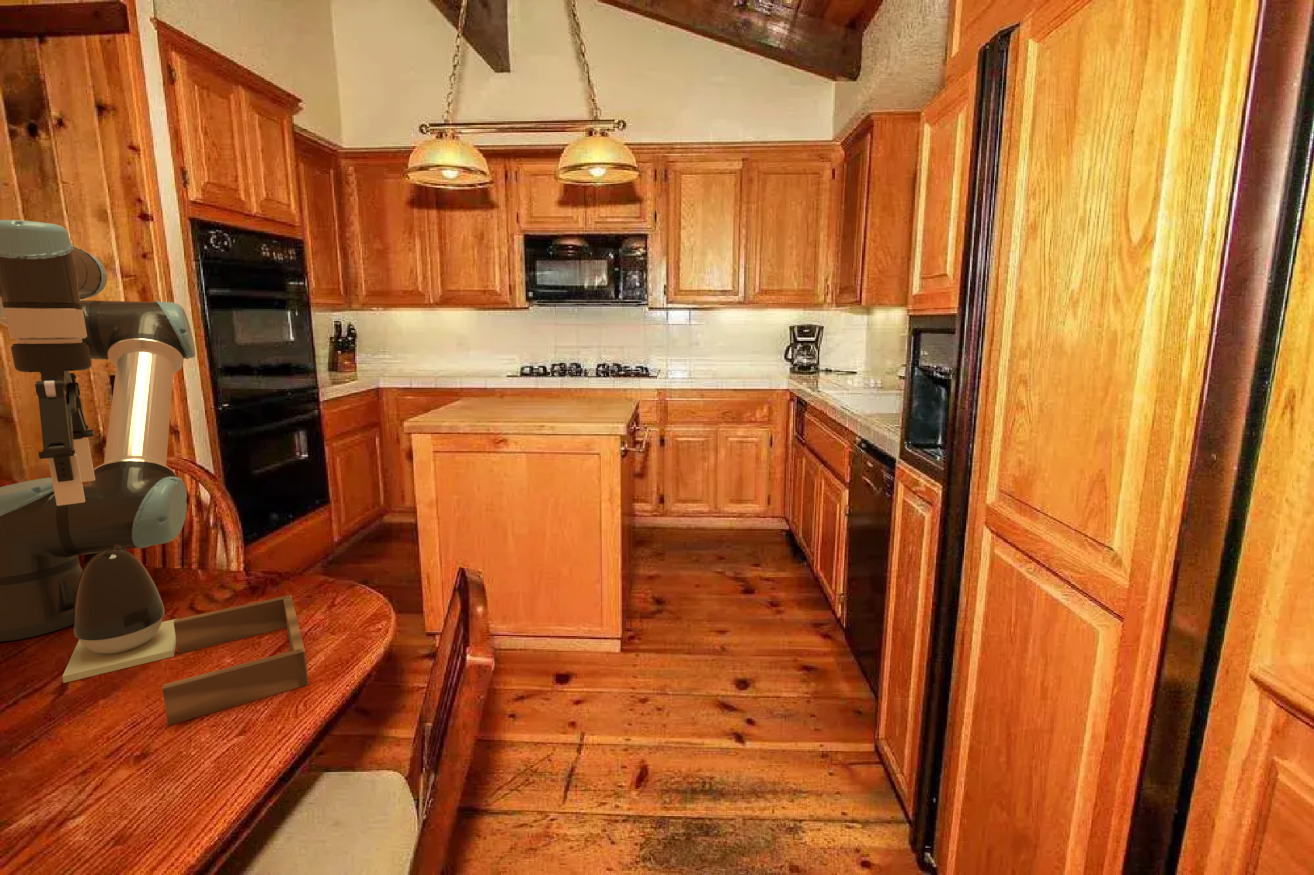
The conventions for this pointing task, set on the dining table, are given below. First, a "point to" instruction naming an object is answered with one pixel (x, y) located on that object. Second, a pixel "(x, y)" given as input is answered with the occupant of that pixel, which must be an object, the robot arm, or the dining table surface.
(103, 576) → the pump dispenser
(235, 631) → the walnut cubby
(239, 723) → the dining table surface
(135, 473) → the robot arm
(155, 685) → the dining table surface
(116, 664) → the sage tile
